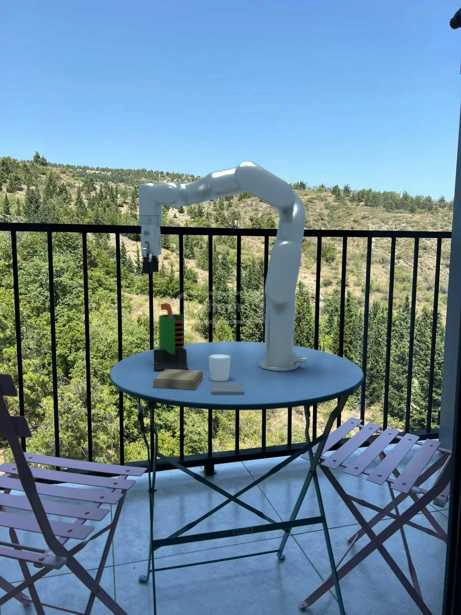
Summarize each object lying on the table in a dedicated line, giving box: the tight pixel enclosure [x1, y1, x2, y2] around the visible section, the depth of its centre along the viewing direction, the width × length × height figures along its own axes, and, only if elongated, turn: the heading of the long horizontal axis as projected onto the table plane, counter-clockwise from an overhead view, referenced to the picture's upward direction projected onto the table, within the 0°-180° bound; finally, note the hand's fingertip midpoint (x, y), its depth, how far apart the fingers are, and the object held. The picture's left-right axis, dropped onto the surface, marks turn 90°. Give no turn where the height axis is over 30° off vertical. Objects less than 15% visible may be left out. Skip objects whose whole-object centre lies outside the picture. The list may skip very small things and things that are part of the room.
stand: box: [152, 369, 204, 391], centre depth 151 cm, size 12×12×2 cm
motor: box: [158, 302, 185, 354], centre depth 176 cm, size 10×9×20 cm
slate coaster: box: [210, 381, 245, 395], centre depth 145 cm, size 9×9×1 cm
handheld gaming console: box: [153, 348, 189, 373], centre depth 169 cm, size 12×7×10 cm
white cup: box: [208, 353, 232, 382], centre depth 156 cm, size 7×7×7 cm
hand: (150, 272), depth 173 cm, fingers open, 9 cm apart
